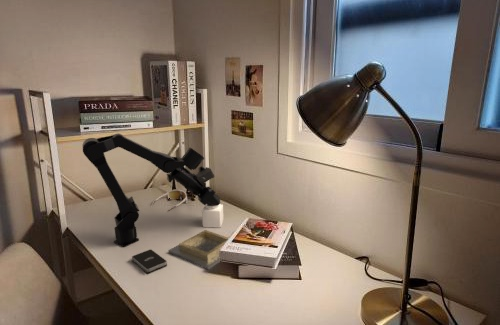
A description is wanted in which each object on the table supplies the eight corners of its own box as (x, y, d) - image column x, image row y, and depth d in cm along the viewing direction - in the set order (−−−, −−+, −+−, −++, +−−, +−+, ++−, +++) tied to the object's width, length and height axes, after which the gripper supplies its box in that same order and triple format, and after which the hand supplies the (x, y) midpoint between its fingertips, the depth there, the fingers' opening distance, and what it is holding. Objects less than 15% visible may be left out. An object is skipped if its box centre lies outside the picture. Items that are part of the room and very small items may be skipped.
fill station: (208, 269, 108) (207, 260, 107) (168, 253, 118) (167, 244, 117) (243, 246, 122) (243, 238, 121) (205, 233, 132) (204, 225, 131)
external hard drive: (151, 254, 118) (150, 248, 118) (168, 267, 110) (167, 261, 110) (131, 262, 114) (131, 256, 113) (147, 275, 106) (147, 270, 105)
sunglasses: (193, 202, 164) (192, 192, 162) (170, 217, 153) (168, 207, 151) (172, 196, 172) (170, 187, 170) (148, 210, 161) (146, 200, 159)
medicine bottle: (223, 220, 143) (222, 192, 140) (220, 227, 136) (219, 198, 133) (206, 219, 144) (205, 192, 141) (202, 227, 137) (201, 198, 134)
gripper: (208, 168, 124) (238, 193, 131) (193, 157, 140) (220, 179, 147) (188, 192, 123) (219, 216, 130) (175, 178, 139) (203, 200, 146)
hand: (215, 201), depth 138 cm, fingers closed on medicine bottle, 6 cm apart
